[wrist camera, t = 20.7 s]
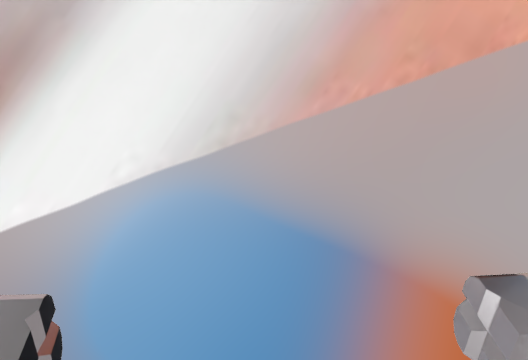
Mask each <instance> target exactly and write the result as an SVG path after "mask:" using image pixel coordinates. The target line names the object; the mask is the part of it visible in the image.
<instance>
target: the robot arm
mask: <svg viewBox="0 0 528 360" xmlns="http://www.w3.org/2000/svg"><path fill="white" fill-rule="evenodd" d="M462 291H463V293H464V295H465V297H466V298H467V299H466V300H465V301H463V302H462V303H461V304H460V305H459V306H458V307H457V309H456V313H455V316H454V333H455V336H456V339H457V342H458V344H459V346H460V348H461V350H462V352H463V353H464V354H465V355H467V356H468V357H469V358H471V359H472V360H528V273H518V274H502V275H484V276H470V277H469V278H468V279H467V280H466V282H465V284H464V287H463V290H462ZM55 310H56V309H55V306H54V303H53V299H52V297H51V296H50V295H48V294H32V295H0V360H61V357H62V335H61V331H60V327H59V326H57V324H55V323H54V322H52V318H53V315H54V313H55Z"/></svg>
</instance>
